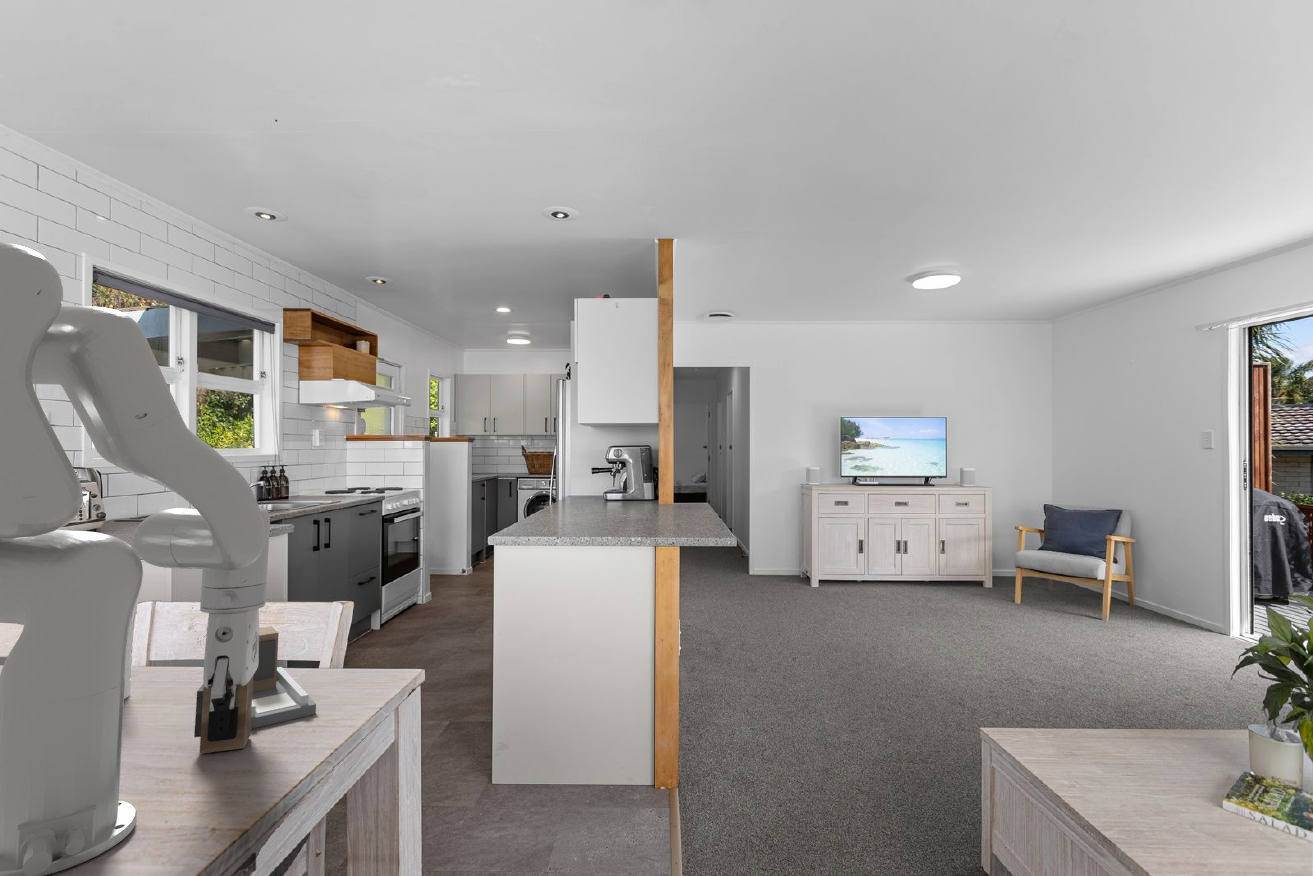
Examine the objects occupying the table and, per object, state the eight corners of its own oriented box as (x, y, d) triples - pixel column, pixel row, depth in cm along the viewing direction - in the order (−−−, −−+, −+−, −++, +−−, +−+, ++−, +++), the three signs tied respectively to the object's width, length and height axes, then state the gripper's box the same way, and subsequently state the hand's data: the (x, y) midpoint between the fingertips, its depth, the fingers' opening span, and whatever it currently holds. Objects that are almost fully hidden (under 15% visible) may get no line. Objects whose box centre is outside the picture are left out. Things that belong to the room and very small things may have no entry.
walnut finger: (243, 748, 86) (247, 680, 86) (192, 754, 83) (196, 685, 84) (249, 736, 89) (253, 671, 90) (200, 742, 87) (204, 675, 88)
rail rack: (315, 714, 98) (318, 645, 98) (239, 731, 91) (242, 657, 92) (286, 682, 111) (288, 621, 112) (217, 695, 104) (220, 631, 105)
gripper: (254, 608, 81) (245, 754, 80) (275, 585, 97) (268, 707, 96) (183, 611, 78) (173, 763, 77) (216, 587, 94) (209, 713, 93)
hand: (226, 731), depth 87 cm, fingers closed on walnut finger, 4 cm apart
